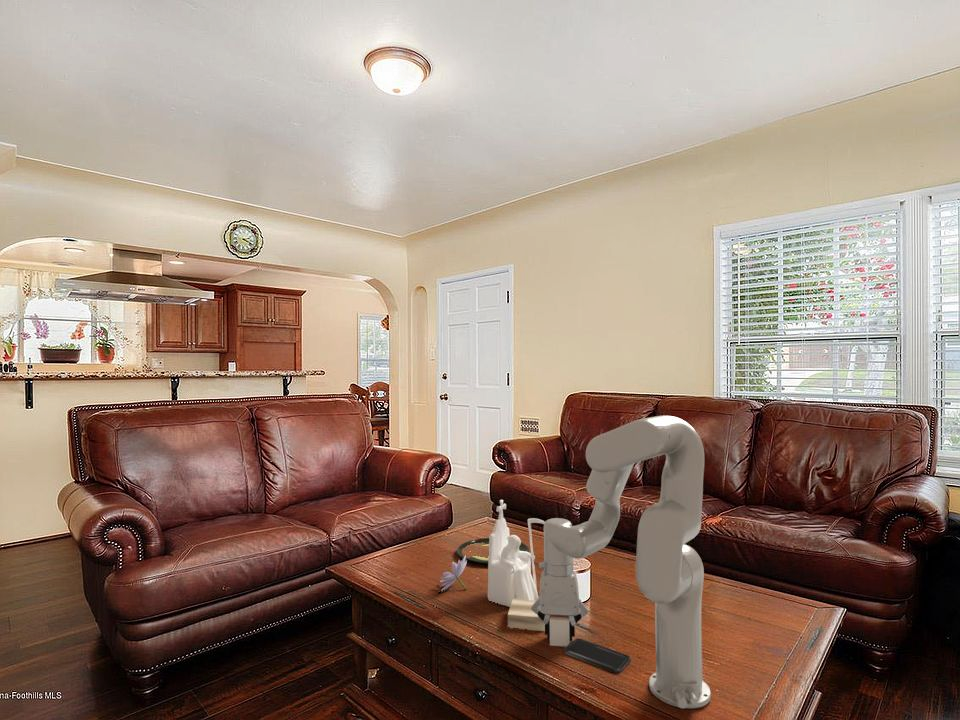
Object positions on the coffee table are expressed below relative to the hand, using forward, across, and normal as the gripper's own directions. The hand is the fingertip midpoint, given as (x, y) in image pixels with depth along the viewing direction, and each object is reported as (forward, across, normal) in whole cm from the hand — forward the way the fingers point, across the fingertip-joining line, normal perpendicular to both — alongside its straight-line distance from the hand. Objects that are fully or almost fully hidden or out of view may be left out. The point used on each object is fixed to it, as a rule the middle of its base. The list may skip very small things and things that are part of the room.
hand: (559, 637), depth 136 cm
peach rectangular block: (+1, 0, 0) cm, 1 cm away
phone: (+2, +9, -6) cm, 11 cm away
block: (+1, -9, +10) cm, 14 cm away
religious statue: (+1, -13, +25) cm, 28 cm away
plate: (+2, -26, +62) cm, 67 cm away
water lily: (+1, -35, +30) cm, 46 cm away
